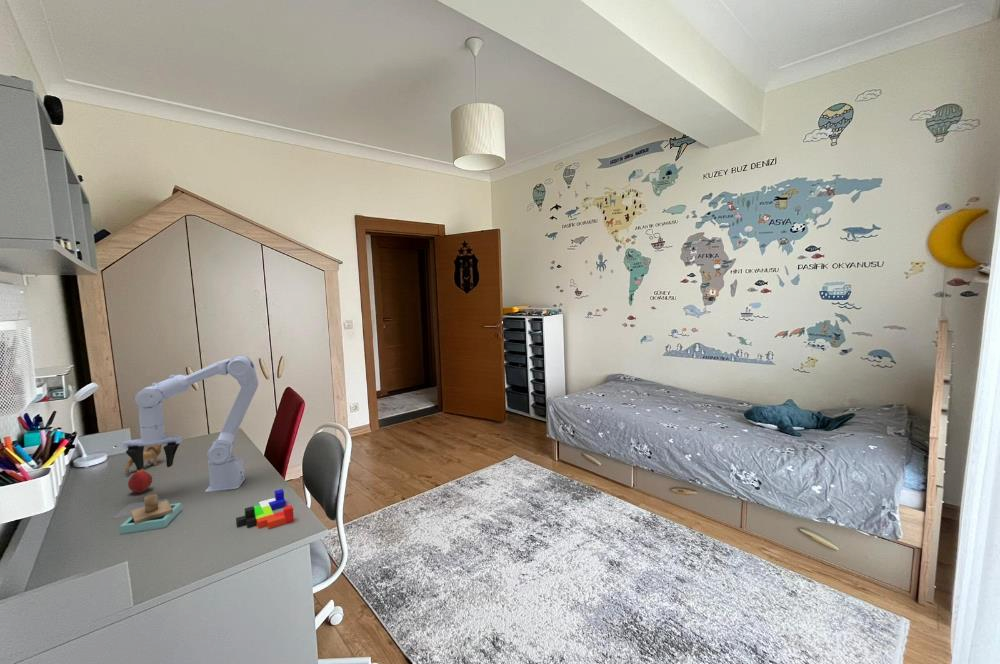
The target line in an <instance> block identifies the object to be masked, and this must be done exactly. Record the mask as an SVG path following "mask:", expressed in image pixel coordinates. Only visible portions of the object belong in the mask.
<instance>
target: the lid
mask: <svg viewBox="0 0 1000 664" xmlns="http://www.w3.org/2000/svg"><path fill="white" fill-rule="evenodd" d="M143 500H144V501H143V502H144V503H145V507H142V508H139V509H135V510H132V511H131V515H132V518H133V520H134V523H135V524H138V523H141V522H145V521H148V520H151V519H154V518H158V517H161V516H164V515H167V514H171V513H173V509H172V507H171V506H170V504H171V503H170V502H169V500H166V501H163V502H159V503H158V500H159V499H158V494H157V493H152V494H148V495H146V496H144V497H143Z"/></svg>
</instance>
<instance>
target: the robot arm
mask: <svg viewBox="0 0 1000 664" xmlns="http://www.w3.org/2000/svg"><path fill="white" fill-rule="evenodd" d="M228 374H229V375H230V376H231V377H233V378H234V379H235V380H236V382H237V383H238V384H239V386H240V389H239V392H238V394H237V396H236V398H235V401H234V403H233V405H232V407H231V409H230V411H229V413H228V415H227V417H226V419H225V422H224V424H223V427H222V429H221V430H220V434H219V435H218V437H217V438H216V439H214V441H213V442H212V444H211V446H210V448H209V449H208V450H207V453H206V457H207V460H208V462H207V465H208V477H209V481H208V482H209V486H208V487H207V488H206V489H205V490H204V492H205V493H209V492H217V491H225V490H226V491H228V490H236V489H239V488H240V486H241V485H242V484H243V482H245V480H246V477H245V469H244V468H245V467H244V465H245V464H244V460H243V458H241V457H239V458H237V457H235V455H234V454H233V452H232V450H233V449H234V440H235V437H236V435H237V433H238V431H239V428H240V426H241V424H242V422H243V420H244V417H245V415H246V414H247V412H248V409H249V407H250V405H251V402H252V400H253V398H254V395H255V393H256V391H257V389H258V387H259V380H258V376H257V371H256V366H255V364H254V362H253V361H252V360H251V359H250V357H249V356H246V355H244V354H240V355H236V356H234V357H230V358H226V359H223V360H219V361H216V362H214V363H212V364H210V365H207V366H205V367H203V368H201V369H199V370H197V371H194V372H192V373H190V374H187V375H185V374H184V375H183V374H177V375H176V374H171V375H170V376H168V378H167V379H165V380H162V381H160V382H152V383H151V385H150V386H145V387H144V388H142V389H141V390H139V391H138V392H137V394H136V395H135V397H134V400H135V403H136V405H138V418H139V430H140V433H139V434H140V438H136V439H129V440H125V441H123V443H122V448H123V450H124V449H125V454H126V455H128V457H131V459H132V460H133V462H134V465H135V469H136V468H137V469H136V470H137V471H138V470H141V469H143V470H144V468H145V467H144V466H145V463H144V462H145V461H143V452H144V451H145V450H144V449H145V447H148V446H150V445H161V446H162V445H164V446H163V450H164V453H165V460H166V462H165V463H166V467H167V468H170V467H172V466H173V465H174V459H175V455H176V452H177V451H178V448H179V446H180V444H181V443H182V442H183V435H166V433H165V432H166V431H165V419H164V409H163V400H165V401H166V400H169V399H171V398H173V397H176V396H179V395H180V394H182V393H185V392H187V391H189V390H190V387H191V385H194V384H195V383H198V382H201V381H203V380H206V379H209V378H211V377H214V376H216V375H219V376H227V375H228ZM126 449H127V450H126Z"/></svg>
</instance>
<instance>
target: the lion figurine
mask: <svg viewBox="0 0 1000 664" xmlns="http://www.w3.org/2000/svg"><path fill="white" fill-rule="evenodd" d="M161 452H162V444H161V445H150V446H147V447H146V449H145V450H143V461H144V462H146V466H148V467H149V466H152V463H151V459H153V466H159V464H160V463H158V456H159V455H160V454H161ZM128 457H129V458H128V461H127V463H126V465H127V466H126V467H125V472H124V474H125V476H127V477H128V476H129V475H130V474H131V472H130V468H132V466H133V465H135V463H134V462H133V460H132V459H131V457H130V456H128ZM135 469H136V470H137V468H136V467H135ZM142 471H144V472H145V469H143V470H142Z"/></svg>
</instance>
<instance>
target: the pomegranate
mask: <svg viewBox="0 0 1000 664" xmlns="http://www.w3.org/2000/svg"><path fill="white" fill-rule="evenodd" d="M142 470H144V468H143V469H141V470H137V471H135V473H133V474H132V476H131V477H130V478H129V479H128V482H127V486H128V489H129V490H130V491H132V492H134V493H138V494H139V493H140V494H141V493H144V492H145V491H146V490H147V489H149V487H150V486H151V485H152V483H153V477H152V475H151V474H150V473H149V472H146V471H145V470H144V471H142Z"/></svg>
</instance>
